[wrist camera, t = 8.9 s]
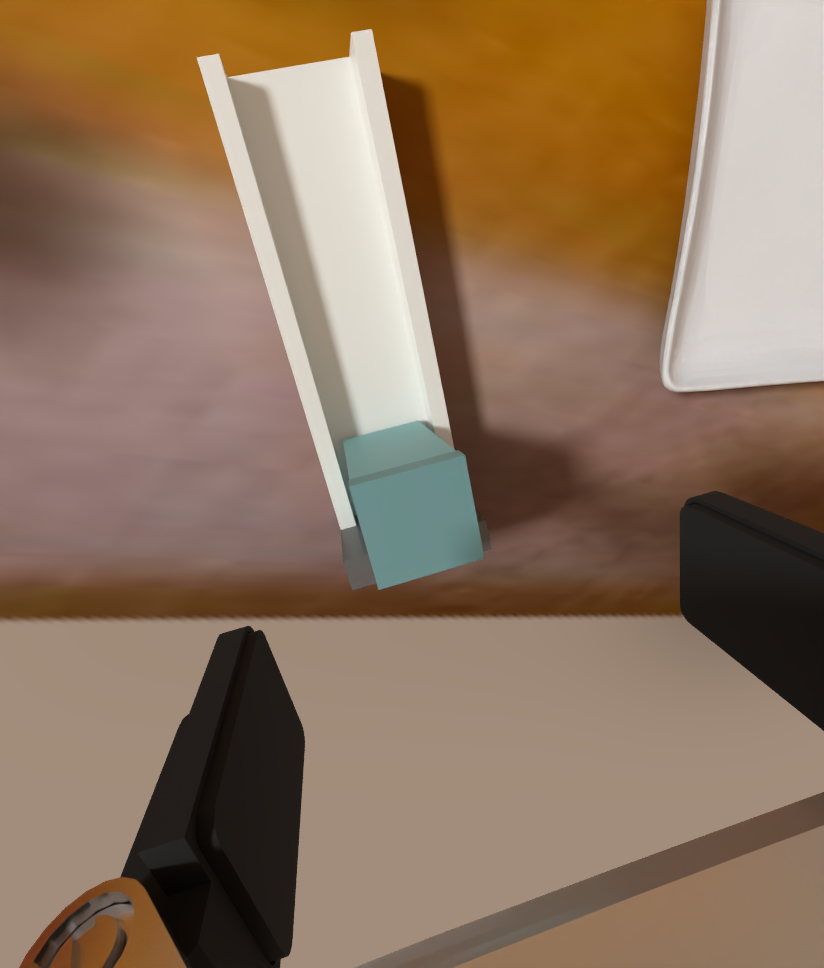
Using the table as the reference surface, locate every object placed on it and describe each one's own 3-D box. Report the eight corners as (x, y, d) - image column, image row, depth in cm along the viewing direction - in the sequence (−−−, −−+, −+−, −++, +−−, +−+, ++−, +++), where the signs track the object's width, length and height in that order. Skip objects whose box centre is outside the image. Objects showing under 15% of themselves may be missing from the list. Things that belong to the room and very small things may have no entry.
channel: (366, 68, 19) (382, -49, 14) (455, 505, 26) (491, 548, 20) (213, 94, 18) (163, -18, 13) (346, 536, 25) (352, 590, 20)
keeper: (418, 419, 23) (464, 455, 15) (434, 491, 24) (484, 558, 16) (341, 439, 22) (348, 486, 15) (362, 511, 24) (378, 590, 16)
